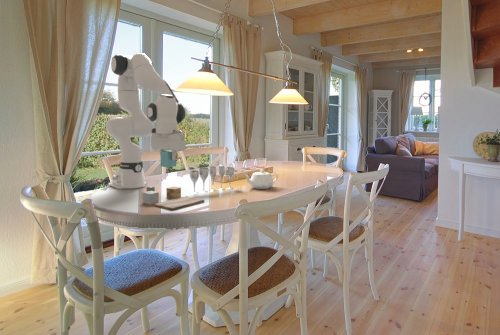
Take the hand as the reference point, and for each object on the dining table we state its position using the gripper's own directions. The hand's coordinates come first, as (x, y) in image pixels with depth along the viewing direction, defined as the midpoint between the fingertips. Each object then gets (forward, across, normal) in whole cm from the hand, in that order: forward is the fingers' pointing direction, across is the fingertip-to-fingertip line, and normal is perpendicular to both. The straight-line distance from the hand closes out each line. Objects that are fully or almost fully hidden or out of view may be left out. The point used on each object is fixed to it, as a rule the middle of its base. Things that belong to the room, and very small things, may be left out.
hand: (168, 159), depth 162 cm
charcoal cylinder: (+20, +14, 0) cm, 24 cm away
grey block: (+20, +5, +7) cm, 22 cm away
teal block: (+3, 0, 0) cm, 3 cm away
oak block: (+20, +5, -7) cm, 22 cm away
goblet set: (+20, +1, -32) cm, 38 cm away
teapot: (+20, -14, -56) cm, 61 cm away
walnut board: (+20, -7, 0) cm, 21 cm away
